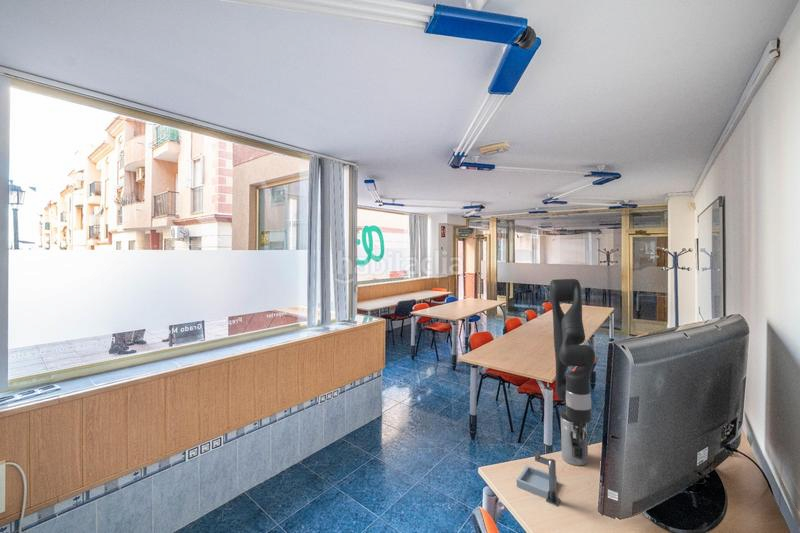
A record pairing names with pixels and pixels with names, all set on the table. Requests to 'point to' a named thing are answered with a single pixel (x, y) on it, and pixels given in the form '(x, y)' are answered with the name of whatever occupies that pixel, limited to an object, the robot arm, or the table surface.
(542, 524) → the table surface
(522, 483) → the bay
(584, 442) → the plug block
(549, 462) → the hook post
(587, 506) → the table surface
